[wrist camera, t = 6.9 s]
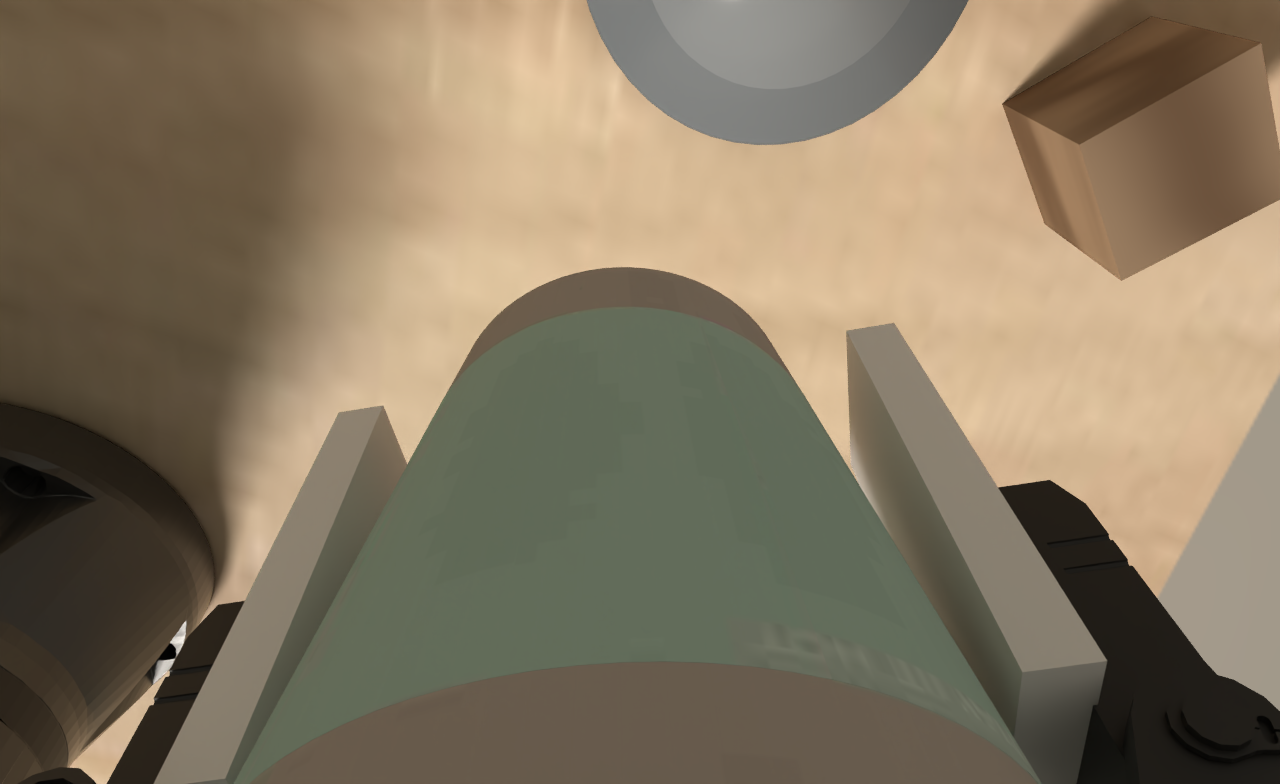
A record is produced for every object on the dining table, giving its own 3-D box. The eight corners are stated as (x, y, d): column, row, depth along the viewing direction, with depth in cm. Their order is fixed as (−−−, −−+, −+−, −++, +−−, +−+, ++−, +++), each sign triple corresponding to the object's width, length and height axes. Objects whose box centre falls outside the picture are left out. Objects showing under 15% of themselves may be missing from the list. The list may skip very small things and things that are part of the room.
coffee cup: (505, 632, 17) (359, 1708, 7) (276, 288, 13) (-955, 1831, 3) (905, 520, 16) (1421, 1651, 6) (802, 93, 12) (2214, 1703, 1)
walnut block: (1043, 223, 30) (1121, 280, 25) (1001, 103, 27) (1079, 144, 23) (1181, 148, 28) (1287, 195, 24) (1150, 16, 26) (1261, 43, 22)
